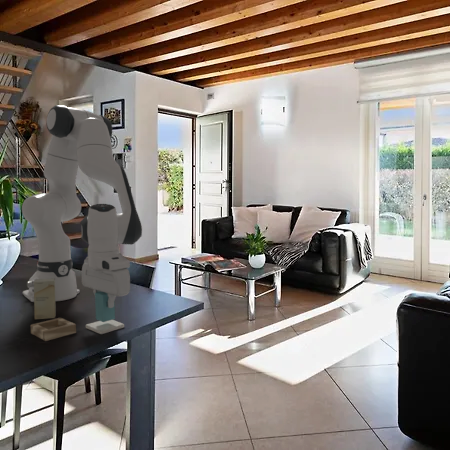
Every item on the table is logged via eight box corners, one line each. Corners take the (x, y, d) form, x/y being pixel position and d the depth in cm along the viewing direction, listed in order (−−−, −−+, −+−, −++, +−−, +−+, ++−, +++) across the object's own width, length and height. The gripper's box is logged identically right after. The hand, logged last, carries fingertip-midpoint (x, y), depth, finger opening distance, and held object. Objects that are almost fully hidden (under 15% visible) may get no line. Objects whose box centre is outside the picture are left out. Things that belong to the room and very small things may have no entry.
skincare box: (34, 320, 136) (32, 282, 135) (35, 315, 140) (34, 279, 139) (55, 318, 138) (54, 280, 137) (56, 314, 142) (55, 277, 141)
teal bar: (95, 319, 129) (95, 292, 128) (107, 316, 132) (106, 290, 131) (103, 322, 126) (102, 295, 125) (115, 318, 129) (114, 292, 128)
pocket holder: (30, 333, 124) (30, 324, 124) (60, 325, 131) (60, 317, 131) (45, 341, 118) (45, 332, 118) (76, 332, 125) (75, 324, 125)
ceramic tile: (85, 327, 129) (85, 324, 129) (108, 321, 135) (108, 318, 135) (100, 334, 124) (100, 330, 124) (124, 327, 130) (124, 324, 129)
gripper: (75, 256, 132) (76, 301, 133) (114, 265, 118) (115, 314, 120) (93, 254, 136) (95, 297, 138) (133, 262, 123) (134, 309, 124)
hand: (105, 305), depth 129 cm, fingers closed on teal bar, 4 cm apart
